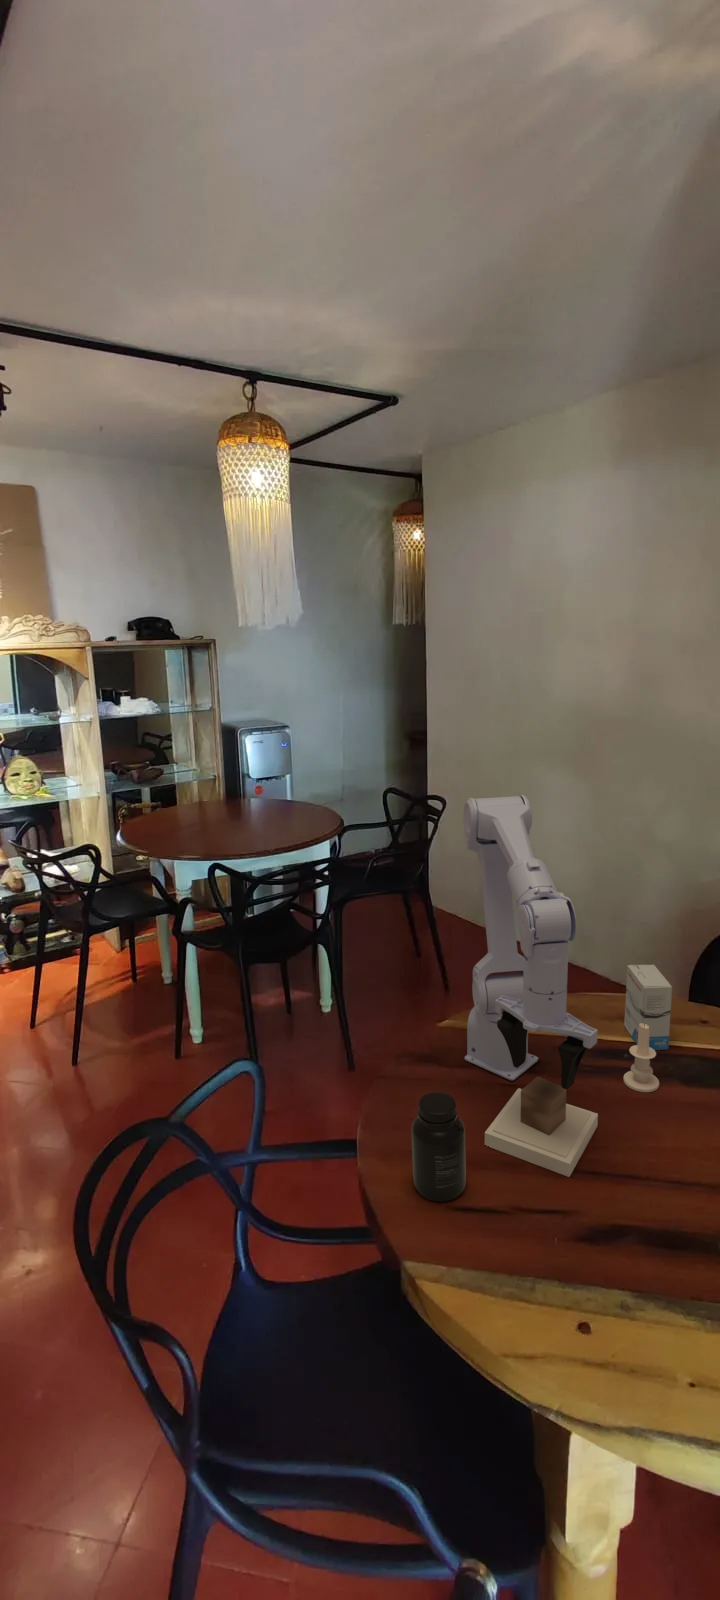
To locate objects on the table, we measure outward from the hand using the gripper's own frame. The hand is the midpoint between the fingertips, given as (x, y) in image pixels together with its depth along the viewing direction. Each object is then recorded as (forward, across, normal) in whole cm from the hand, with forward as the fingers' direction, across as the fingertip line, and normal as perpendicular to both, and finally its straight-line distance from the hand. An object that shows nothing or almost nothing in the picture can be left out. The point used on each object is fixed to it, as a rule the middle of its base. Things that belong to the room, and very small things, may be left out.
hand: (543, 1074), depth 105 cm
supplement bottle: (+10, -5, -17) cm, 20 cm away
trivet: (+10, 0, 0) cm, 10 cm away
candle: (+10, +5, +21) cm, 24 cm away
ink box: (+10, 0, +34) cm, 35 cm away
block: (+7, 0, 0) cm, 7 cm away
